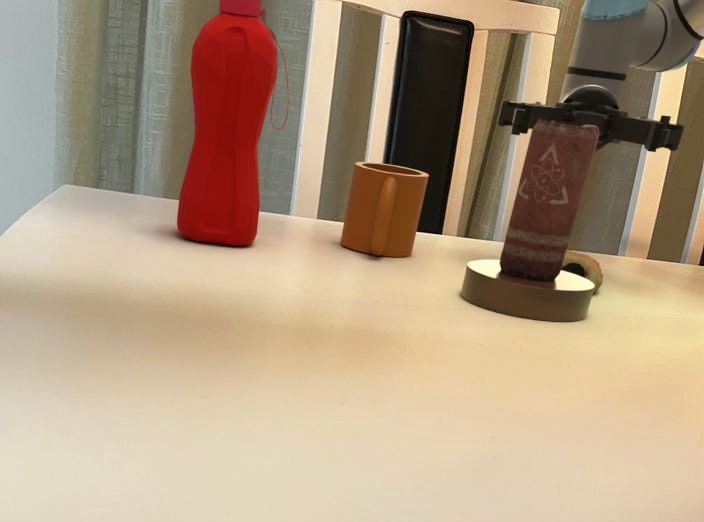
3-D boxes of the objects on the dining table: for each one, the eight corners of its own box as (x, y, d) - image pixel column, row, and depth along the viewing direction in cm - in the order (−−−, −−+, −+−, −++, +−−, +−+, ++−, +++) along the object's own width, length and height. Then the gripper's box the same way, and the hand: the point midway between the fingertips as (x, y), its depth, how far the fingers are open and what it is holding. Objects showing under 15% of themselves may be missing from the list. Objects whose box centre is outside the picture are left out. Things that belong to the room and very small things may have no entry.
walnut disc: (613, 320, 103) (622, 290, 101) (519, 323, 97) (527, 291, 95) (525, 287, 112) (533, 259, 111) (435, 288, 106) (441, 258, 105)
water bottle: (271, 253, 112) (306, -12, 99) (173, 240, 112) (196, -27, 99) (269, 237, 120) (301, -9, 107) (178, 226, 120) (199, -23, 107)
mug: (324, 251, 117) (338, 167, 112) (349, 237, 127) (363, 159, 122) (399, 265, 115) (416, 180, 110) (419, 250, 125) (435, 171, 120)
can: (570, 284, 101) (614, 129, 93) (511, 278, 100) (551, 121, 92) (545, 270, 106) (585, 122, 99) (489, 265, 105) (525, 115, 97)
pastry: (542, 272, 121) (551, 239, 119) (599, 283, 120) (609, 250, 118) (537, 286, 113) (547, 251, 111) (598, 298, 112) (609, 262, 110)
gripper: (679, 167, 125) (699, 184, 107) (479, 138, 129) (466, 150, 112) (701, 99, 121) (725, 105, 103) (493, 72, 126) (482, 73, 108)
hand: (590, 128), depth 107 cm, fingers open, 13 cm apart
